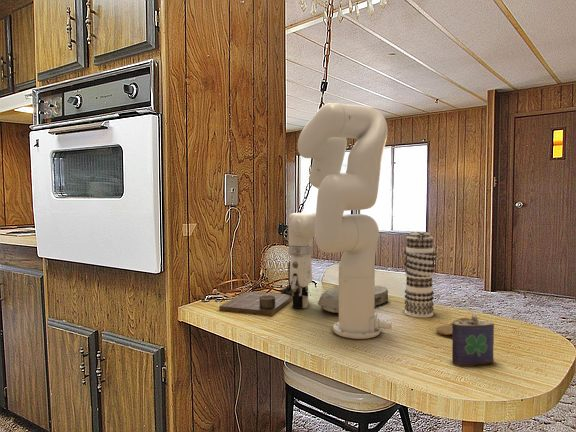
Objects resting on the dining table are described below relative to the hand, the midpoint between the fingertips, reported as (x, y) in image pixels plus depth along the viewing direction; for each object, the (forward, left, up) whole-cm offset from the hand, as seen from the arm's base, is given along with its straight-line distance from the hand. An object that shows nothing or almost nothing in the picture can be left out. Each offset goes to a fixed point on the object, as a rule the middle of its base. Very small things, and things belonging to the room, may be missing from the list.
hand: (300, 304), depth 136 cm
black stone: (+8, +9, +1) cm, 12 cm away
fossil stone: (-16, -6, -1) cm, 17 cm away
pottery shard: (-48, +11, -1) cm, 49 cm away
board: (+14, +3, 0) cm, 14 cm away
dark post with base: (+8, -17, -1) cm, 19 cm away
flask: (-50, +30, -1) cm, 58 cm away
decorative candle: (-37, -4, -1) cm, 37 cm away
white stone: (0, 0, 0) cm, 0 cm away
